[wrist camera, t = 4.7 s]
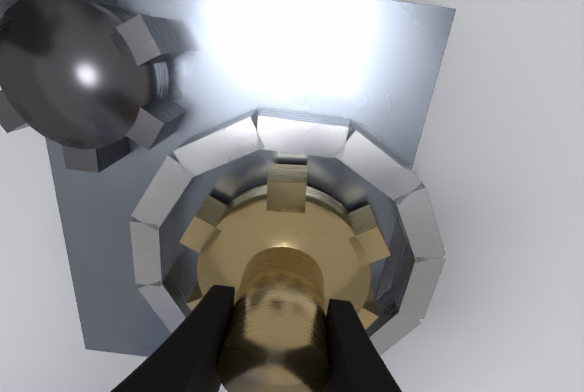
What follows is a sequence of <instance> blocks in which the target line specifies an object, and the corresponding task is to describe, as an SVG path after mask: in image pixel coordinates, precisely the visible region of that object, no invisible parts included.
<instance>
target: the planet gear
mask: <svg viewBox="0 0 584 392" xmlns="http://www.w3.org/2000/svg"><path fill="white" fill-rule="evenodd" d="M179 243H181V244H183V245H185V246H187V247H189V248H191V249H193V250H195V251H197V252H198V253H200V254H199V257H198V263H197V278H198V280H197V282H196V284H195V286H194V288H193V290H192V293H191V295H190V297H189V299H188V301H187V305H188V307H189V308H190V309H191V310H193V309H194V308H195V307H196V306H197V304H198V303H199V302H200V301H201V299H202V298H203V297H204V296H205V294H206V293H207V292H208V290H209V289H210V288H211V287H212V286H213V285H222V286H230V287H235V295H234V308H233V311H232V315H231V318H230V322H229V325H228V329H227V332H226V336H225V340H224V343H223V347H222V350H221V354H220V357H219V361H218V369H217V371H218V376H219V379H220V381H221V383H222V385H223V386H224V387H225V389H226V390H227V391H228V392H323V391H324V390H325V388H326V386H327V384H328V380H329V364H328V347H327V330H326V314H327V309H328V304H329V299H337V300H345V301H350V302H351V303H352V304H353V306H354V308H355V310H356V312H357V314H358V317H359V319H360V321H361V323H362V324H363V326H364V328H365V330H366V329H367V328H368V327H369V326H370V325H371V324H372V323H373V322H374V321H375V320H376V319H377V318H378V317H379V315H378V311H377V307H376V303H375V299H374V295H373V291H372V287H370V282H371V272H370V265H369V264H370V263H372V262H375V261H378V260H380V259H383V258H386V257H388V256H391V254H390V251H389V248H388V246H387V243H386V240H385V238H384V235H383V232H382V230H381V228H380V225H379V223H378V221H377V219H376V217H375V215H374V213H373V211H372V209H371V206H370V204H369V205H366V206H364V207H361V208H359V209H357V210H354V211H352V212H349V211H348V210H347V209H346V208H345V207H344V206H343V205H342V204H341V203H340V202H338V201H337V200H335V199H334V198H333V197H331V196H329V195H328V194H326V193H324V192H322V191H320V190H317V189H314V188H312V187H308V186H307V165H290V164H272V166H271V169H270V173H269V176H268V180H267V185H264V186H260V187H256V188H253V189H251V190H248V191H246V192H244V193H243V194H241V195H239V196H237V197H236V198H235V199H233V200H232V201H231V202H229V203H228V204H227V205H225V204H223V203H222V202H220V201H218V200H216V199H215V198H213V197H211V196H209V195H208V196H207V197H206V199H205V200H204V202H203V203H202V205H201V206H200V208H199V210H198V211H197V213H196V214H195V216H194V218H193V219H192V221H191V223H190V224H189V226H188V228H187V230H186V231H185V233H184V235H183V236H182V238H181V240H180V242H179Z"/></svg>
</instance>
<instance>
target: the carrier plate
mask: <svg viewBox="0 0 584 392" xmlns="http://www.w3.org/2000/svg"><path fill="white" fill-rule="evenodd" d="M455 11H456V9H452V8H444V7H437V6H429V5H421V4H413V3H406V2H398V1H390V0H0V86H1V88H2V90H1V91H0V124H1V126H2V127H3V128H4V130H5V131H6V132H7V133H9V132H12V131H15V130H18V129H22V128H25V127H28V126H31V127H32V128H33V129H34V130H36V131H37V132H39V133H40V134H42V135H43V136H45V138H46V144H47V149H48V154H49V159H50V165H51V170H52V175H53V180H54V186H55V191H56V196H57V201H58V207H59V212H60V217H61V222H62V228H63V233H64V238H65V243H66V249H67V254H68V259H69V264H70V270H71V275H72V280H73V285H74V291H75V296H76V301H77V306H78V312H79V317H80V322H81V327H82V333H83V338H84V343H85V348H86V349H88V350H97V351H105V352H113V353H122V354H130V355H138V356H147V357H149V356H150V355H151V354H152V353H153V352H154V351H155V350H156V349H157V348H158V347H159V346H160V345H161V344H162V343H163V342H164V341H165V340H166V339H167V338H168V337H169V336H170V335H171V334H172V333H173V332H174V331H175V329H176V328H177V327H178V326H179V325H180V324H181V323H182V322H183V321H184V320H185V318H186V317H187V316H188V315H189V314H190V313H191V311H192V310H191V309H190V308H189V307H188V305H187V301H188V299H189V297H190V295H191V293H192V290H193V288H194V286H195V284H196V282H197V280H198V278H197V263H198V257H199V254H200V253H198V252H197V251H195V250H193V249H191V248H189V247H187V246H185V245H183V244H181V243H179V242H180V240H181V238H182V236H183V235H184V233H185V231H186V230H187V228H188V226H189V224H190V223H191V221H192V219H193V218H194V216H195V214H196V213H197V211H198V210H199V208H200V206H201V205H202V203H203V202H204V200H205V199H206V197H207V196H208V195H209V196H211V197H213V198H215V199H216V200H218V201H220V202H222V203H223V204H225V205H227V204H228V203H229V202H231V201H232V200H233V199H235V198H236V197H237V196H239V195H241V194H243V193H244V192H246V191H248V190H251V189H253V188H256V187H260V186H264V185H267V180H268V176H269V173H270V169H271V166H272V164H290V165H307V186H308V187H312V188H314V189H317V190H320V191H322V192H324V193H326V194H328V195H329V196H331V197H333V198H334V199H335V200H337V201H338V202H340V203H341V204H342V205H343V206H344V207H345V208H346V209H347V210H348V211H349V212H352V211H354V210H357V209H359V208H361V207H364V206H366V205H369V204H370V206H371V209H372V211H373V213H374V215H375V217H376V219H377V221H378V223H379V225H380V228H381V230H382V232H383V235H384V238H385V240H386V243H387V246H388V248H390V244H391V241H392V237H393V234H394V230H395V226H396V223H397V219H399V222H400V225H401V228H402V231H403V234H404V237H405V242H404V245H403V248H402V252H401V255H400V258H399V262H398V265H397V268H396V272H395V275H394V279H393V282H392V285H391V288H390V289H389V290H388V291H387V292H386V293H385V294H384V295H383V296H381V297H380V298H379V299H378V300H377V301H376V302H375V303H376V307H377V311H378V315H379V317H378V318H377V319H376V320H375V321H374V322H373V323H372V324H371V325H370V326H369V327H368V328H367V329H366V332H367V334H368V336H369V338H370V340H371V341H372V343H373V345H374V347H375V348H376V350H377V352H378V354H379V355H382V354H383V353H384V352H385V351H387V350H388V349H389V348H390V347H391V346H393V345H394V344H395V343H396V342H398V341H399V340H400V339H401V338H403V337H404V336H405V335H406V334H408V333H409V332H410V331H411V330H413V329H414V328H415V327H416V326H418V325H419V324H420V320H419V318H422V319H424V317H425V314H426V311H427V309H428V306H429V303H430V301H431V298H432V295H433V292H434V290H435V287H436V284H437V281H438V279H439V276H440V273H441V270H442V268H443V265H444V262H445V259H444V257H443V256H442V255H445V251H444V248H443V244H442V241H441V238H440V234H439V231H438V228H437V224H436V221H435V217H434V214H433V211H432V207H431V204H430V201H429V197H428V194H427V191H426V187H425V186H424V185H423V184H422V182H421V180H420V179H419V178H418V177H417V175H416V174H415V173H414V172H413V170H412V165H413V162H414V158H415V155H416V151H417V147H418V144H419V140H420V137H421V133H422V129H423V126H424V122H425V119H426V115H427V112H428V108H429V104H430V101H431V97H432V94H433V90H434V86H435V83H436V79H437V76H438V72H439V68H440V65H441V61H442V58H443V54H444V50H445V47H446V43H447V40H448V36H449V33H450V29H451V25H452V22H453V18H454V15H455ZM386 259H387V257H386V258H383V259H380V260H378V261H375V262H372V263H370V264H369V265H370V272H371V282H370V287H372V291H373V295H374V299H375V298H376V295H377V291H378V287H379V284H380V280H381V277H382V273H383V270H384V266H385V262H386Z"/></svg>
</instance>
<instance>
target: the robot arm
mask: <svg viewBox="0 0 584 392" xmlns="http://www.w3.org/2000/svg"><path fill="white" fill-rule="evenodd" d="M234 295H235V287H230V286H222V285H213V286H212V287H211V288H210V289H209V290H208V292H207V293H206V294H205V296H204V297H203V298H202V299H201V301H200V302H199V303H198V304H197V306H196V307H195V308H194V309H193V310H192V311H191V313H190V314H189V315H188V316H187V317H186V318H185V320H184V321H183V322H182V323H181V324H180V325H179V326H178V327H177V328H176V329H175V331H174V332H173V333H172V334H171V335H170V336H169V337H168V338H167V339H166V340H165V341H164V342H163V343H162V344H161V345H160V346H159V347H158V348H157V349H156V350H155V351H154V352H153V353H152V354H151V355H150V356H149V357H148V358H147V359H146V360H145V361H144V362H143V363H142V364H141V365H140V366H139V367H138V368H137V369H135V370H134V371H133V372H132V373H131V374H130V375H129V376H128V377H127V378H126V379H124V380H123V381H122V382H121V383H120V384H119V385H118V386H116V387H115V388H114V389H113V390H112V391H111V392H218V391H219V388H220V385H221V381H220V379H219V376H218V371H217V369H218V361H219V357H220V354H221V350H222V347H223V343H224V340H225V336H226V332H227V329H228V325H229V322H230V318H231V315H232V311H233V308H234ZM326 330H327V347H328V364H329V380H328V384H327V386H326V388H325V390H324V391H323V392H402V391H401V389H400V388H399V386H398V385H397V383H396V381H395V380H394V378H393V377H392V375H391V374H390V372H389V370H388V369H387V367H386V365H385V364H384V362H383V360H382V359H381V357H380V355H379V354H378V352H377V350H376V348H375V347H374V345H373V343H372V341H371V340H370V338H369V336H368V334H367V332H366V330H365V328H364V326H363V324H362V323H361V321H360V319H359V317H358V314H357V312H356V310H355V308H354V306H353V304H352V303H351V302H350V301H345V300H337V299H329V304H328V309H327V314H326Z"/></svg>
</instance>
